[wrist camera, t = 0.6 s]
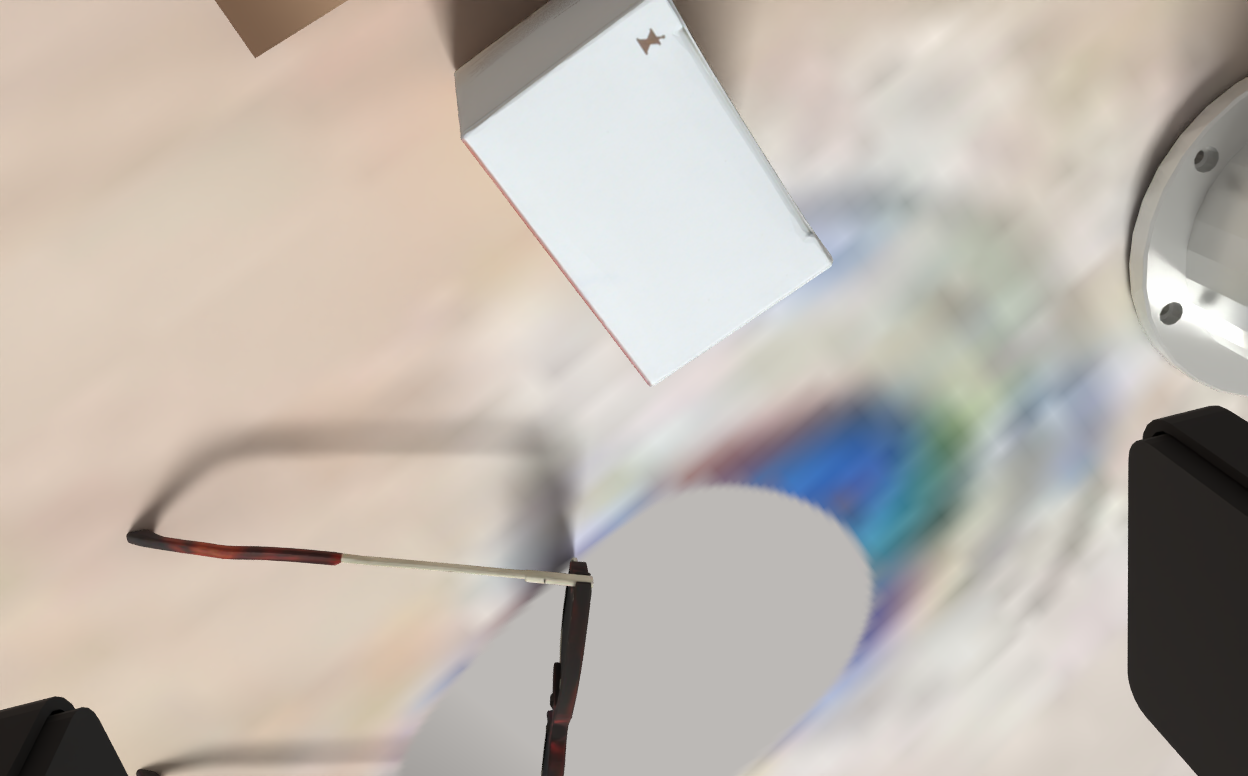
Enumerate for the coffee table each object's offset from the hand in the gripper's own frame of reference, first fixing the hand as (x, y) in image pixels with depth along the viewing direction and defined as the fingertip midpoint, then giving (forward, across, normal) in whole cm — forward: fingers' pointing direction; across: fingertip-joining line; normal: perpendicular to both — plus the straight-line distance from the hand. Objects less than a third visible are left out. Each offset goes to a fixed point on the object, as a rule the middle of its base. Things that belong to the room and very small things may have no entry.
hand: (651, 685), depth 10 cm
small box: (+27, -3, 0) cm, 27 cm away
